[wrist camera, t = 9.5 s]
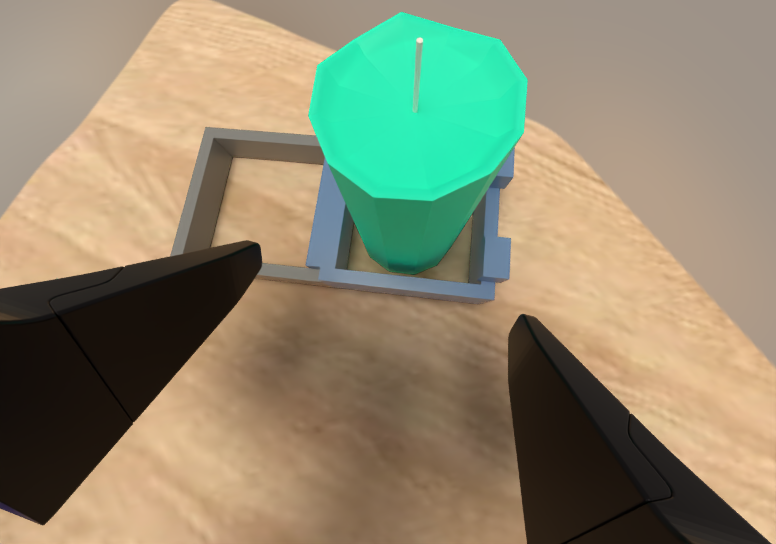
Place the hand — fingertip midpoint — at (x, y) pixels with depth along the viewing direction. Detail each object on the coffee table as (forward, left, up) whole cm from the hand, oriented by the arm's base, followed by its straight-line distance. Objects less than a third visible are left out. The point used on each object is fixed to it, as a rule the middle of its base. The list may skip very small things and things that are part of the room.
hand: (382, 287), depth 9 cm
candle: (+4, -3, -8) cm, 9 cm away
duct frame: (+6, +1, -8) cm, 10 cm away
